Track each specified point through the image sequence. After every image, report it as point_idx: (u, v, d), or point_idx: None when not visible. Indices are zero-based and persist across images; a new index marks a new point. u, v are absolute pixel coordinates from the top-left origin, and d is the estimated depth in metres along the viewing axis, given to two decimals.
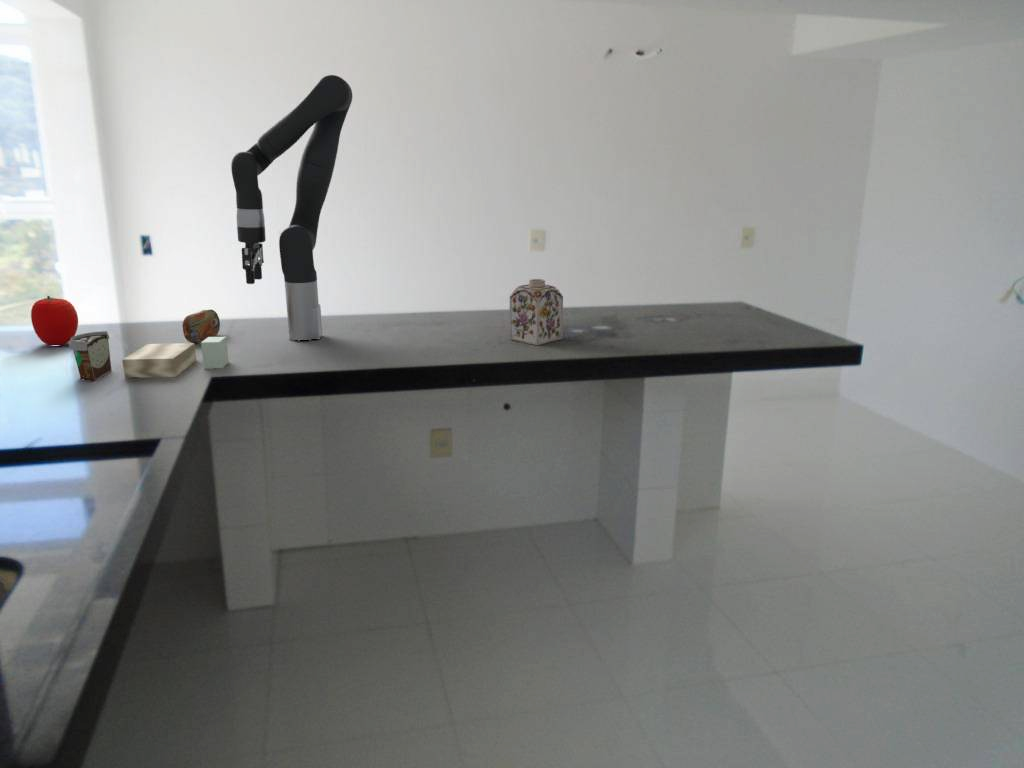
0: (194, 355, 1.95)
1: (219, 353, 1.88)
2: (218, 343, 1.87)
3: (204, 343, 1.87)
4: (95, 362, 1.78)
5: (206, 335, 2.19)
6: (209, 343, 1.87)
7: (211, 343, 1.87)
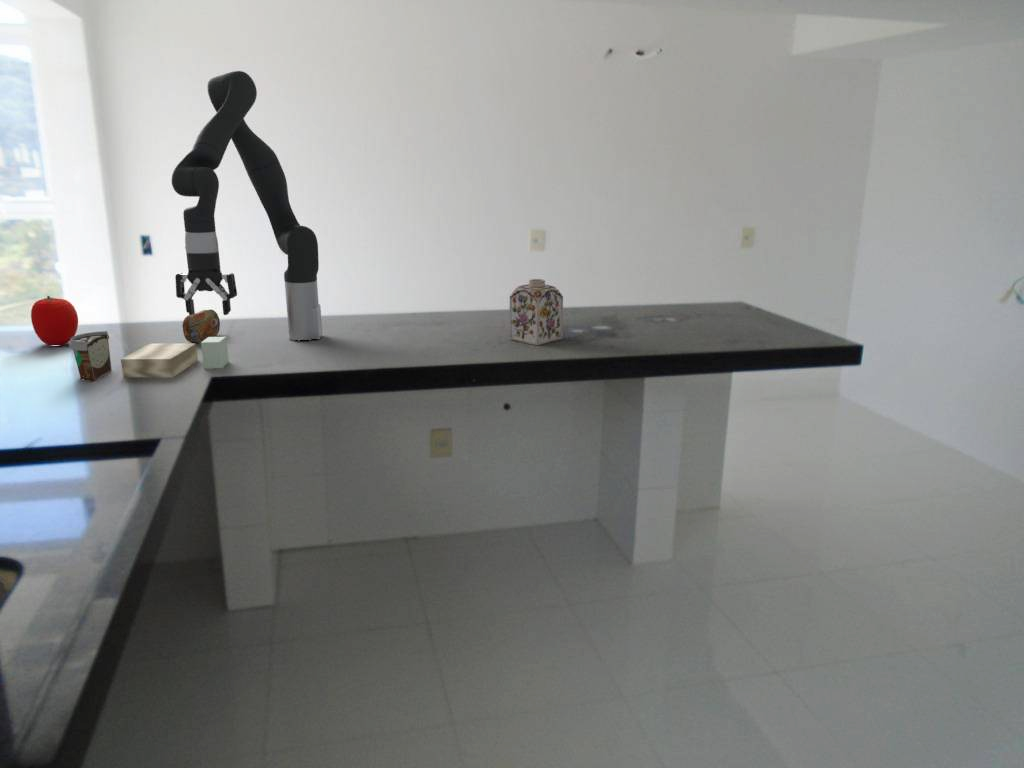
0: (195, 355, 1.95)
1: (219, 353, 1.88)
2: (218, 343, 1.87)
3: (204, 343, 1.87)
4: (95, 362, 1.78)
5: (207, 335, 2.19)
6: (209, 343, 1.87)
7: (211, 343, 1.87)
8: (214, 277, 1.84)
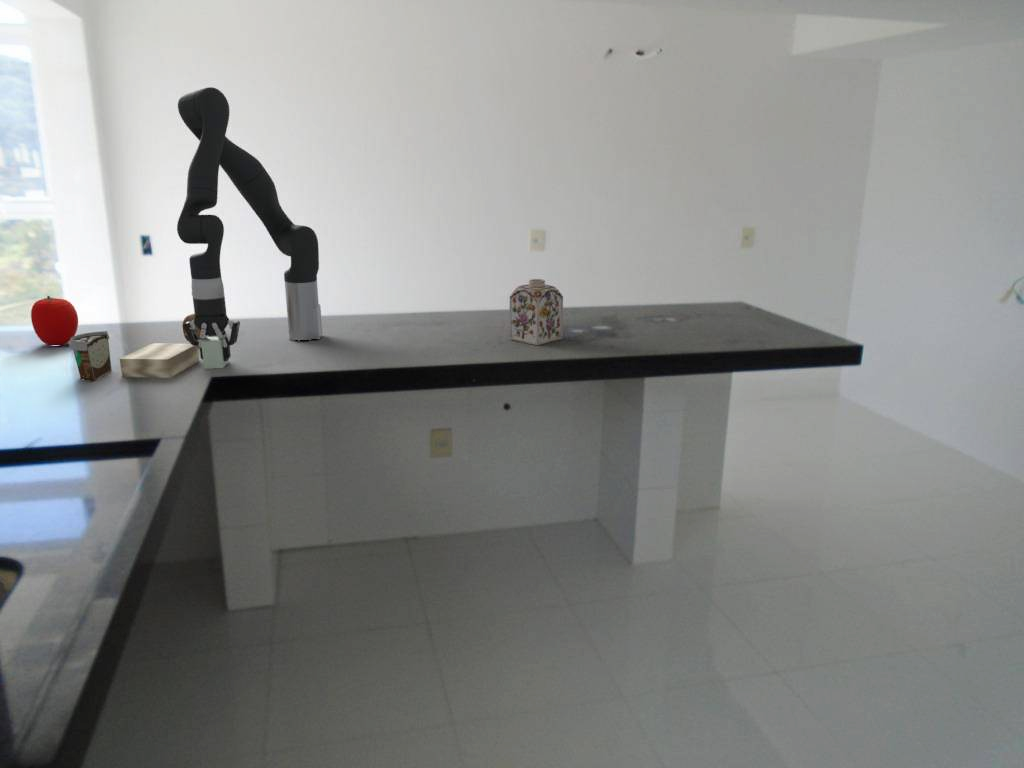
0: (196, 356, 1.95)
1: (220, 353, 1.88)
2: (218, 343, 1.87)
3: (204, 343, 1.87)
4: (95, 362, 1.78)
5: None
6: (210, 343, 1.87)
7: (211, 343, 1.87)
8: (220, 321, 1.87)
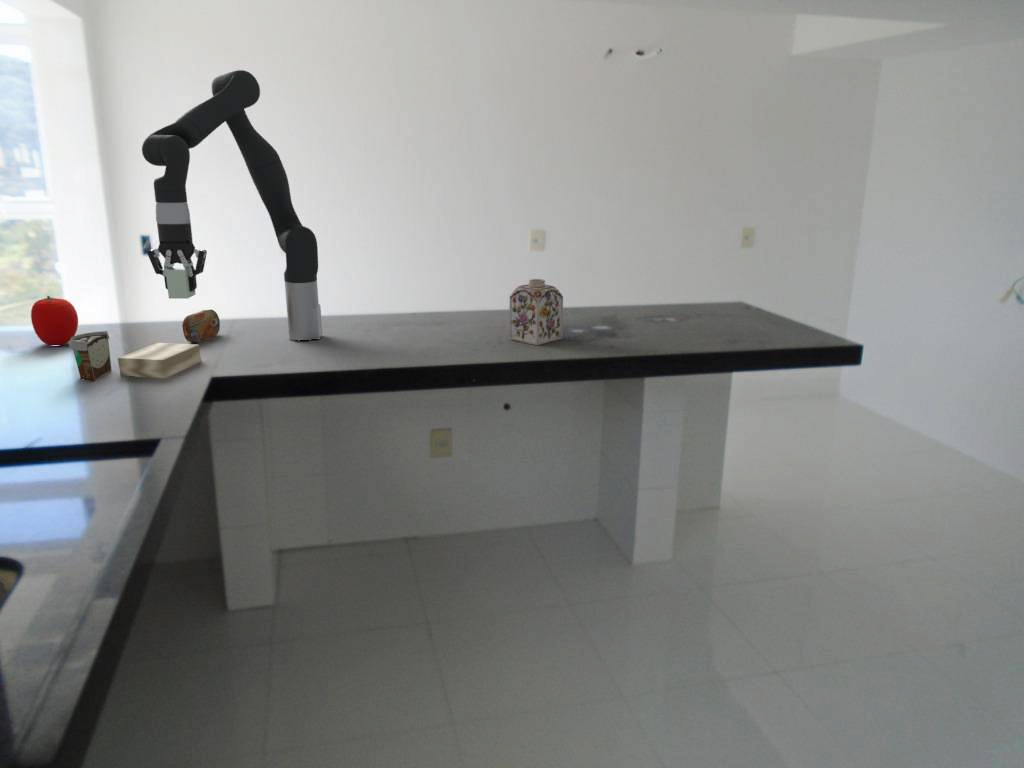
0: (198, 356, 1.94)
1: (185, 282, 1.81)
2: (183, 271, 1.80)
3: (169, 271, 1.80)
4: (95, 362, 1.78)
5: (206, 335, 2.19)
6: (174, 271, 1.80)
7: (176, 271, 1.80)
8: (186, 248, 1.80)
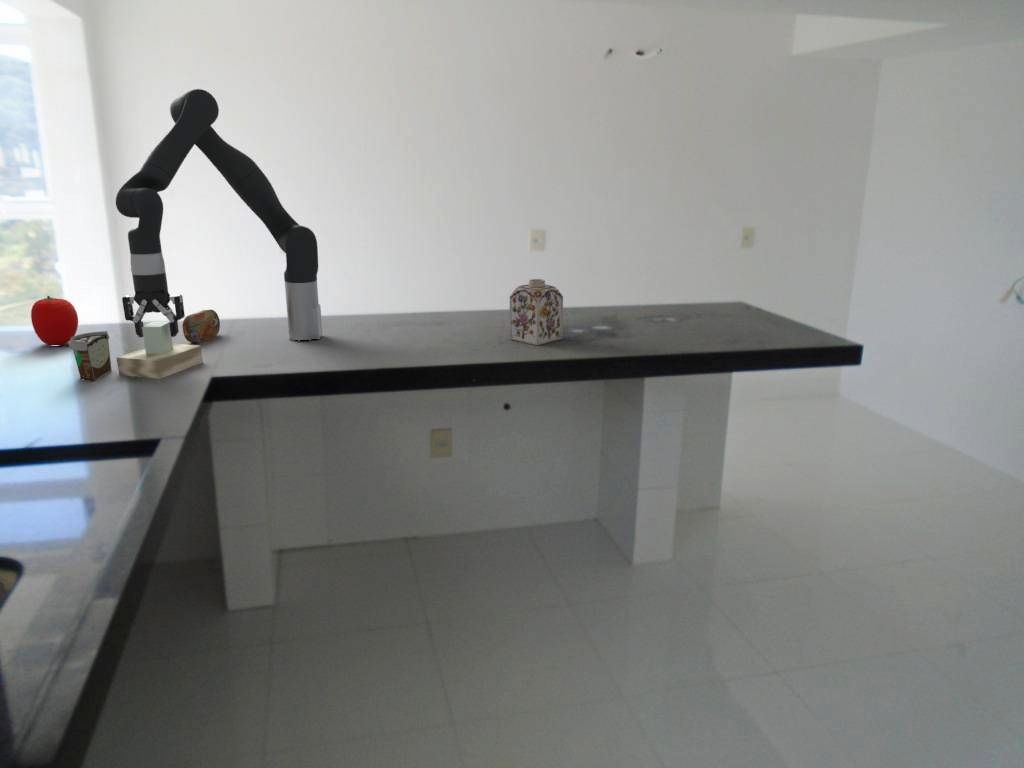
0: (199, 358, 1.93)
1: (161, 338, 1.84)
2: (160, 328, 1.83)
3: (145, 328, 1.83)
4: (95, 362, 1.78)
5: (207, 335, 2.19)
6: (151, 328, 1.83)
7: (152, 328, 1.83)
8: (161, 298, 1.83)
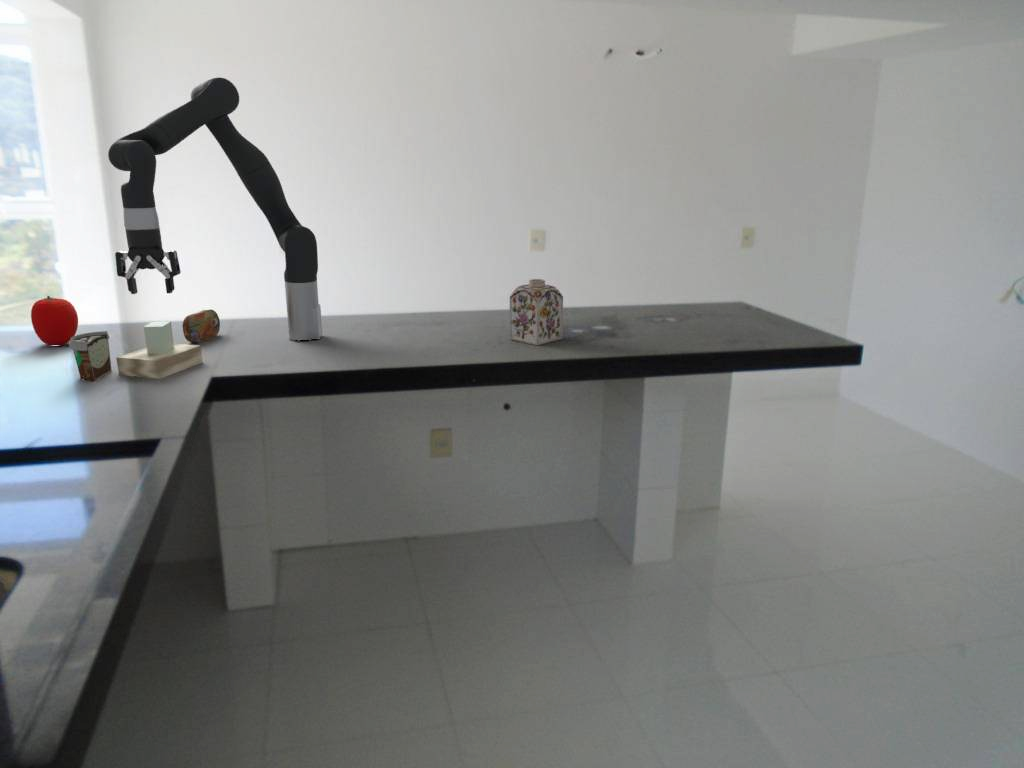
0: (199, 357, 1.93)
1: (163, 338, 1.84)
2: (162, 327, 1.83)
3: (147, 327, 1.83)
4: (95, 362, 1.78)
5: (206, 335, 2.19)
6: (153, 327, 1.83)
7: (154, 327, 1.83)
8: (155, 254, 1.79)
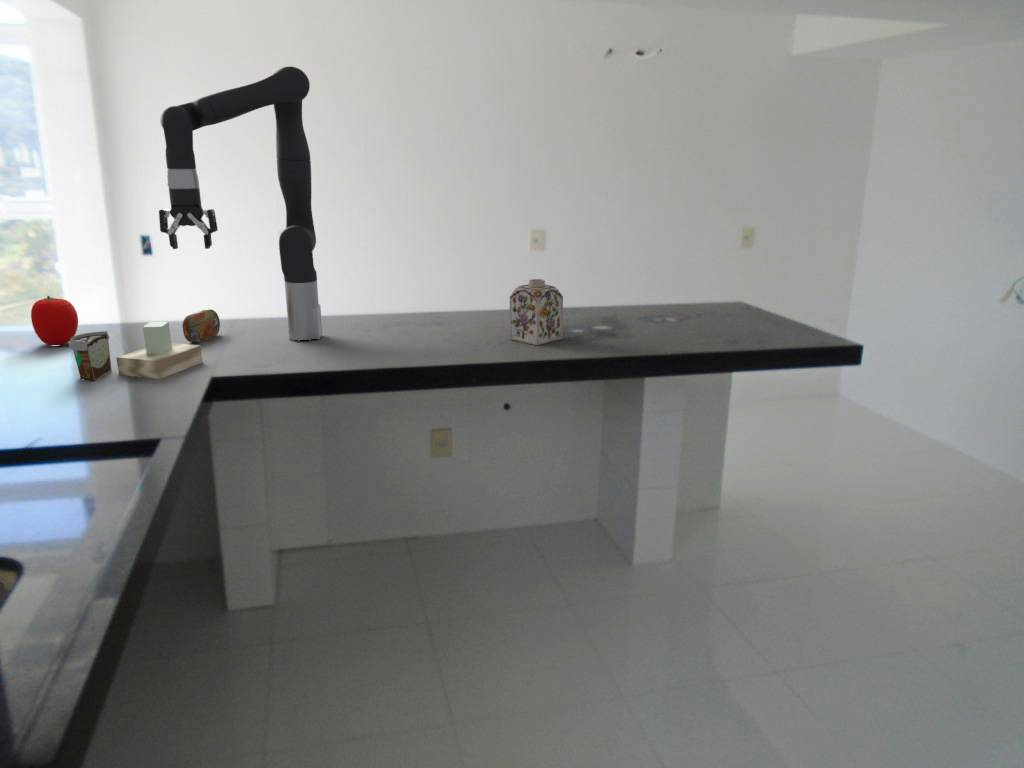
0: (199, 357, 1.93)
1: (163, 338, 1.84)
2: (161, 327, 1.83)
3: (146, 328, 1.82)
4: (95, 362, 1.78)
5: (206, 335, 2.19)
6: (152, 328, 1.82)
7: (153, 328, 1.83)
8: (195, 212, 1.96)
